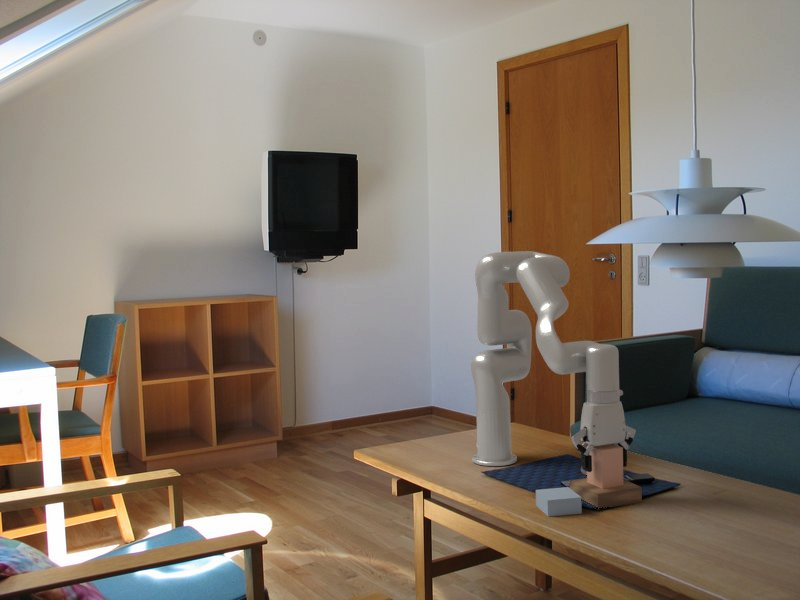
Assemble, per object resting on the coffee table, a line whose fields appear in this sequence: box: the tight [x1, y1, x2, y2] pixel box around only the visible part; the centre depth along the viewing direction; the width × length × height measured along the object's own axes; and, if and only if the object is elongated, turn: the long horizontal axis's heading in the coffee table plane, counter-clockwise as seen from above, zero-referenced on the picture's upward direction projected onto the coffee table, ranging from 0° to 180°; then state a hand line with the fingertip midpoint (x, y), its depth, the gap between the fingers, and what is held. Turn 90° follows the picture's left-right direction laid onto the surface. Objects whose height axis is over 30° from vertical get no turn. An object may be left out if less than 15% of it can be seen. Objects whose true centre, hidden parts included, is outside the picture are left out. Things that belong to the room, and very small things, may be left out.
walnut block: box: [568, 477, 643, 510], centre depth 192 cm, size 12×12×4 cm
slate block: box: [535, 486, 583, 517], centre depth 185 cm, size 8×8×4 cm
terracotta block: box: [586, 444, 624, 489], centre depth 192 cm, size 6×6×9 cm
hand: (604, 468), depth 192 cm, fingers open, 9 cm apart
